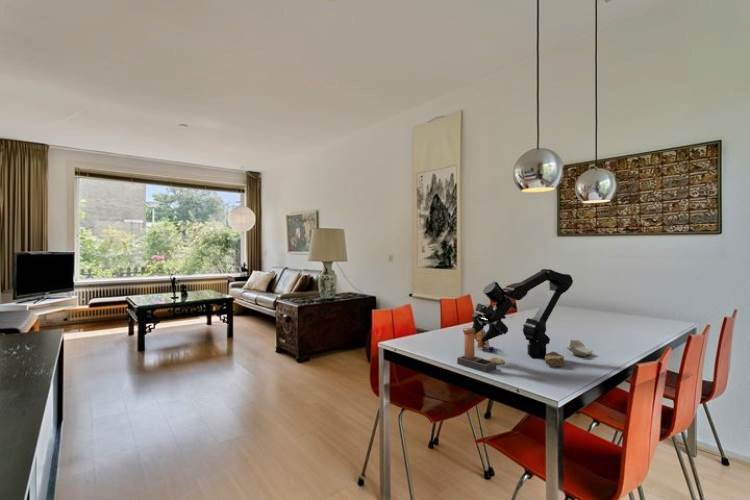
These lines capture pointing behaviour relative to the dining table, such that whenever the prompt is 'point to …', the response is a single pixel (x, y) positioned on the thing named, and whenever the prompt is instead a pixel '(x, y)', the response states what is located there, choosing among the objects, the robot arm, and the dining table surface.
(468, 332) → the plug
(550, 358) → the stone
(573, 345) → the pottery shard
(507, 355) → the dining table surface
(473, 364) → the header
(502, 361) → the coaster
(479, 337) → the toy
